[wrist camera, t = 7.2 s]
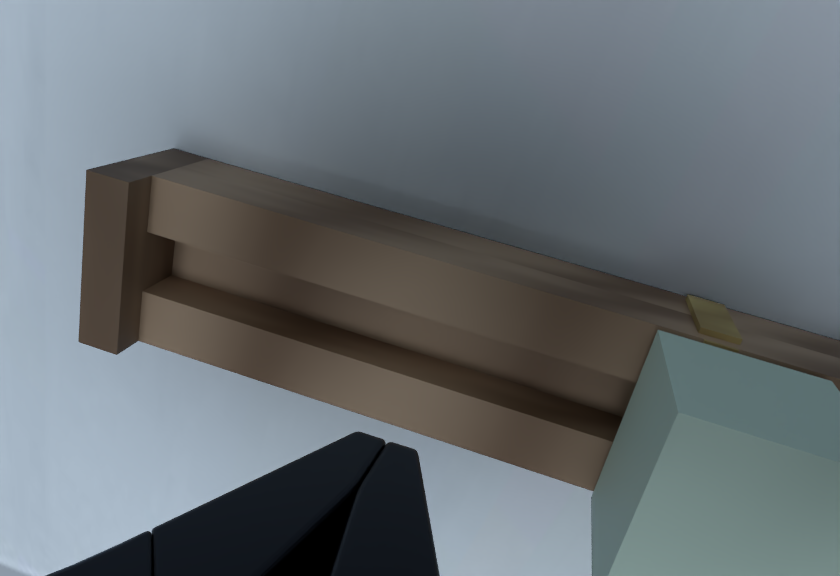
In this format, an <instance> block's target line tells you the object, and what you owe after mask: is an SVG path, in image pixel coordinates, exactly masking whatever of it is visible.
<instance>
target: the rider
mask: <svg viewBox="0 0 840 576" xmlns="http://www.w3.org/2000/svg"><path fill="white" fill-rule="evenodd" d="M591 523H592V576H840V392H839V390H838V389H837V387H836V386H835V385H834V383H833V382H832V381H829V380H826V379H823V378H819V377H816V376H813V375H809V374H806V373H802V372H799V371H796V370H792V369H789V368H786V367H782V366H779V365H775V364H772V363H769V362H765V361H762V360H759V359H755V358H752V357H748V356H745V355H742V354H738V353H735V352H732V351H728V350H725V349H722V348H718V347H715V346H711V345H708V344H705V343H701V342H698V341H695V340H691V339H688V338H684V337H681V336H678V335H674V334H671V333H668V332H664V331H661V330H657V333H656V335H655V338H654V341H653V343H652V346H651V348H650V351H649V353H648V356H647V358H646V361H645V363H644V366H643V368H642V371H641V373H640V376H639V378H638V381H637V383H636V386H635V388H634V391H633V393H632V396H631V398H630V401H629V404H628V406H627V409H626V411H625V414H624V416H623V419H622V421H621V424H620V426H619V429H618V431H617V434H616V436H615V439H614V441H613V444H612V446H611V449H610V451H609V454H608V456H607V459H606V461H605V464H604V467H603V469H602V472H601V474H600V477H599V479H598V482H597V484H596V487H595V489H594V492H593V494H592V497H591Z"/></svg>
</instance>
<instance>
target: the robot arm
mask: <svg viewBox="0 0 840 576" xmlns="http://www.w3.org/2000/svg"><path fill="white" fill-rule="evenodd" d="M46 576H440V575H439V569H438V564H437V558H436V552H435V547H434V541H433V535H432V530H431V524H430V518H429V513H428V507H427V501H426V496H425V490H424V484H423V479H422V473H421V467H420V462H419V456H418V453H417V451H416V450H414V449H412V448H409V447H406V446H402V445H399V444H396V443H393V442H390V443H387V444H385V441H384V440H383V439H380V438H377V437H374V436H371V435H368V434H365V433H362V432H355V433H352V434H350V435H348V436H346V437H344V438H342V439H340V440H337V441H335V442H333V443H331V444H329V445H327V446H325V447H323V448H321V449H319V450H316V451H314V452H312V453H310V454H308V455H306V456H304V457H302V458H300V459H298V460H295V461H293V462H291V463H289V464H287V465H285V466H283V467H281V468H279V469H277V470H274V471H272V472H270V473H268V474H266V475H264V476H262V477H260V478H258V479H256V480H253V481H251V482H249V483H247V484H245V485H243V486H241V487H239V488H237V489H235V490H232V491H230V492H228V493H226V494H224V495H222V496H220V497H218V498H216V499H214V500H211V501H209V502H207V503H205V504H203V505H201V506H199V507H197V508H195V509H193V510H191V511H188V512H186V513H184V514H182V515H180V516H178V517H176V518H174V519H172V520H170V521H167V522H165V523H163V524H161V525H159V526H157V527H155V528H153V529H152V533H151V532H149V531H146V532H144V533H142V534H140V535H137V536H135V537H133V538H131V539H129V540H127V541H125V542H123V543H121V544H119V545H116V546H114V547H112V548H110V549H107V550H105V551H103V552H101V553H98V554H96V555H94V556H92V557H89V558H87V559H85V560H83V561H80V562H78V563H76V564H74V565H71V566H69V567H66V568H64V569H61V570H59V571H56V572H54V573H51V574H48V575H46Z"/></svg>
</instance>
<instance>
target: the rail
mask: <svg viewBox="0 0 840 576" xmlns="http://www.w3.org/2000/svg"><path fill="white" fill-rule="evenodd" d="M657 330H661V331H664V332H668V333H671V334H674V335H678V336H681V337H684V338H688V339H691V340H695V341H698V342H701V343H705V344H708V345H711V346H715V347H718V348H722V349H725V350H728V351H732V352H735V353H738V354H742V355H745V356H748V357H752V358H755V359H759V360H762V361H765V362H769V363H772V364H775V365H779V366H782V367H786V368H789V369H792V370H796V371H799V372H802V373H806V374H809V375H813V376H816V377H819V378H823V379H826V380H829V381H832V382H833V383H834V385H835V386H836V387H837V389H838V390H839V392H840V341H839V340H835V339H832V338H828V337H825V336H822V335H818V334H815V333H811V332H808V331H804V330H801V329H797V328H794V327H790V326H787V325H783V324H780V323H776V322H773V321H770V320H766V319H763V318H759V317H756V316H752V315H749V314H745V313H742V312H738V311H735V310H731V309H728V308H726V307H725V305H723V304H720V303H716V302H713V301H709V300H706V299H702V298H699V297H696V296H692V295H689V294H687V297H686V296H683V295H679V294H676V293H673V292H669V291H666V290H662V289H659V288H655V287H652V286H648V285H645V284H641V283H638V282H634V281H631V280H627V279H624V278H621V277H617V276H614V275H610V274H607V273H603V272H600V271H596V270H593V269H589V268H586V267H582V266H579V265H575V264H572V263H569V262H565V261H562V260H558V259H555V258H551V257H548V256H544V255H541V254H537V253H534V252H530V251H527V250H524V249H520V248H517V247H513V246H510V245H506V244H503V243H499V242H496V241H492V240H489V239H485V238H482V237H478V236H475V235H472V234H468V233H465V232H461V231H458V230H454V229H451V228H447V227H444V226H440V225H437V224H433V223H430V222H426V221H423V220H420V219H416V218H413V217H409V216H406V215H402V214H399V213H395V212H392V211H388V210H385V209H381V208H378V207H374V206H371V205H368V204H364V203H361V202H357V201H354V200H350V199H347V198H343V197H340V196H336V195H333V194H329V193H326V192H323V191H319V190H316V189H312V188H309V187H305V186H302V185H298V184H295V183H291V182H288V181H284V180H281V179H277V178H274V177H271V176H267V175H264V174H260V173H257V172H253V171H250V170H246V169H243V168H239V167H236V166H232V165H229V164H225V163H222V162H219V161H215V160H212V159H208V158H205V157H201V156H198V155H194V154H191V153H187V152H184V151H180V150H177V149H174V148H173V149H169V150H165V151H161V152H157V153H153V154H149V155H145V156H141V157H137V158H133V159H129V160H125V161H121V162H117V163H113V164H108V165H104V166H100V167H96V168H92V169H88V170H86V191H85V213H84V235H83V258H82V280H81V302H80V324H79V342H80V343H83V344H86V345H89V346H92V347H95V348H98V349H101V350H104V351H107V352H110V353H113V354H116V355H117V354H119V353H120V352H122V351H123V350H125V349H126V348H128V347H129V346H131V345H133V344H134V343H136V342H137V341H141V342H144V343H147V344H150V345H153V346H156V347H159V348H162V349H165V350H168V351H171V352H174V353H177V354H180V355H183V356H186V357H189V358H192V359H195V360H198V361H201V362H204V363H207V364H210V365H213V366H216V367H219V368H222V369H225V370H228V371H231V372H234V373H237V374H240V375H244V376H247V377H250V378H253V379H256V380H259V381H262V382H265V383H268V384H271V385H274V386H277V387H280V388H283V389H286V390H289V391H292V392H295V393H298V394H301V395H304V396H307V397H310V398H313V399H316V400H319V401H322V402H325V403H328V404H331V405H334V406H337V407H340V408H343V409H346V410H349V411H352V412H355V413H358V414H361V415H364V416H367V417H370V418H373V419H377V420H380V421H383V422H386V423H389V424H392V425H395V426H398V427H401V428H404V429H407V430H410V431H413V432H416V433H419V434H422V435H425V436H428V437H431V438H434V439H437V440H440V441H443V442H446V443H449V444H452V445H455V446H458V447H461V448H464V449H467V450H470V451H473V452H476V453H479V454H482V455H485V456H488V457H491V458H494V459H497V460H500V461H503V462H506V463H509V464H513V465H516V466H519V467H522V468H525V469H528V470H531V471H534V472H537V473H540V474H543V475H546V476H549V477H552V478H555V479H558V480H561V481H564V482H567V483H570V484H573V485H576V486H579V487H582V488H585V489H588V490H591V491H594V489H595V487H596V484H597V482H598V479H599V477H600V474H601V472H602V469H603V467H604V464H605V461H606V459H607V456H608V454H609V451H610V449H611V446H612V444H613V441H614V439H615V436H616V434H617V431H618V429H619V426H620V424H621V421H622V419H623V416H624V414H625V411H626V409H627V406H628V404H629V401H630V398H631V396H632V393H633V391H634V388H635V386H636V383H637V381H638V378H639V376H640V373H641V371H642V368H643V366H644V363H645V361H646V358H647V356H648V353H649V351H650V348H651V346H652V343H653V341H654V338H655V335H656V333H657Z"/></svg>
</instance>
